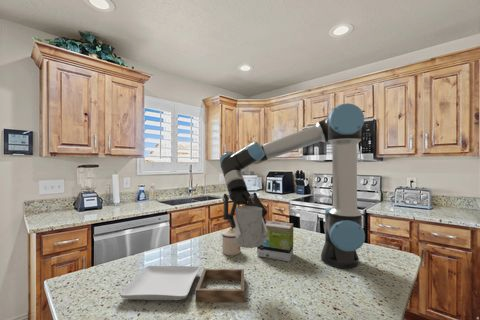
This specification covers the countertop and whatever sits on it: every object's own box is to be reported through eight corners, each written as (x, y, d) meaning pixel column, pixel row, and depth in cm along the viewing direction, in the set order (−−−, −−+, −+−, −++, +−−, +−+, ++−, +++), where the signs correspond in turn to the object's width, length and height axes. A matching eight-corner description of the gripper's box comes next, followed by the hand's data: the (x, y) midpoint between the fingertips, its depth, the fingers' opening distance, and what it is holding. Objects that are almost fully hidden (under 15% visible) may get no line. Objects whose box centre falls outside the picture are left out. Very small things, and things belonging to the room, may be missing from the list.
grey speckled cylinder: (264, 240, 88) (265, 207, 88) (257, 249, 79) (258, 212, 79) (240, 237, 91) (240, 205, 91) (230, 245, 82) (231, 209, 82)
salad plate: (146, 273, 93) (146, 264, 93) (201, 274, 93) (201, 265, 93) (117, 305, 72) (117, 294, 72) (187, 307, 72) (187, 295, 72)
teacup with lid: (243, 254, 111) (243, 229, 112) (223, 256, 109) (223, 231, 109) (237, 246, 123) (237, 223, 123) (219, 247, 121) (219, 224, 121)
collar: (244, 278, 88) (244, 269, 89) (244, 302, 73) (244, 290, 74) (203, 278, 89) (203, 268, 89) (195, 301, 74) (195, 290, 74)
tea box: (256, 257, 109) (256, 224, 109) (263, 249, 118) (263, 219, 118) (289, 262, 103) (289, 227, 103) (293, 254, 113) (293, 222, 113)
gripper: (257, 189, 104) (275, 236, 89) (207, 190, 95) (219, 243, 80) (263, 177, 99) (284, 225, 84) (211, 178, 90) (224, 232, 75)
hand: (252, 234), depth 82 cm, fingers closed on grey speckled cylinder, 9 cm apart
